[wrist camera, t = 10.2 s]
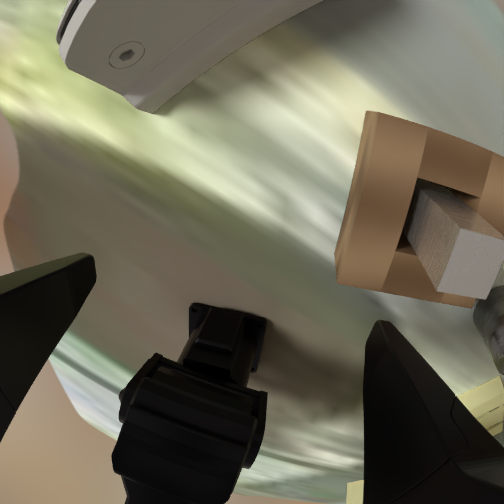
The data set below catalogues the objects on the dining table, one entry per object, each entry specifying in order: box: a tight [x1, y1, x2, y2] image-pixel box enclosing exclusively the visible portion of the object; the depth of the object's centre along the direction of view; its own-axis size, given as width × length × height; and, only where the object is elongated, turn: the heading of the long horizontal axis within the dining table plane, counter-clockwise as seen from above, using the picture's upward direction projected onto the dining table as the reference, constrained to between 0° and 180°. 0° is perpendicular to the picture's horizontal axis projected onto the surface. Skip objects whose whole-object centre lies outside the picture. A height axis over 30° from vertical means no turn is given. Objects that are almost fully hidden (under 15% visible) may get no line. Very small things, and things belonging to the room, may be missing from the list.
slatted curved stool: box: [346, 375, 504, 504], centre depth 21 cm, size 30×16×18 cm, turn 34°
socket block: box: [334, 111, 504, 308], centre depth 17 cm, size 10×10×4 cm
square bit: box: [402, 179, 504, 300], centre depth 15 cm, size 3×3×9 cm
